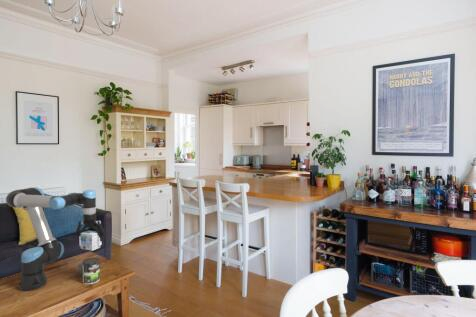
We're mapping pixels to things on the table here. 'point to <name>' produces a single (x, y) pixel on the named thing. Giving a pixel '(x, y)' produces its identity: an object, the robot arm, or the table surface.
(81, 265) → the grey domed cylinder
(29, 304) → the table surface
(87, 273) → the coffee can
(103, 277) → the table surface
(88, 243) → the light bulb box
